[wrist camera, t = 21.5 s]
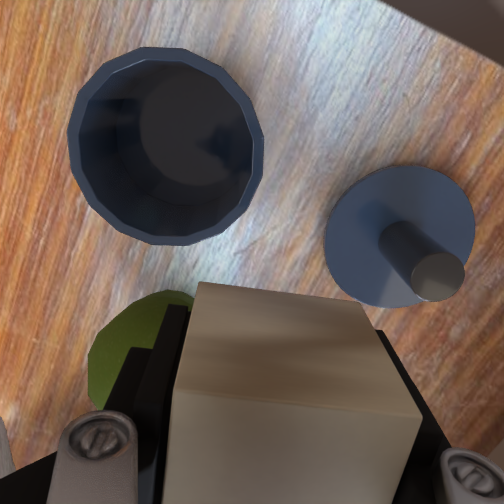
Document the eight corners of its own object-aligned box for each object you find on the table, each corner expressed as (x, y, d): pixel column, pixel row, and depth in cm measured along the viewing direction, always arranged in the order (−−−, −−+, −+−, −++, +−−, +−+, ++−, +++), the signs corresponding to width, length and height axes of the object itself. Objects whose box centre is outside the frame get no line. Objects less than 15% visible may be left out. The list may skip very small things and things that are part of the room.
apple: (249, 292, 34) (252, 387, 23) (201, 371, 36) (184, 490, 25) (148, 243, 32) (100, 320, 21) (105, 329, 34) (43, 437, 24)
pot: (226, 34, 27) (220, 13, 20) (278, 182, 30) (289, 209, 23) (83, 93, 28) (30, 93, 21) (149, 230, 32) (122, 269, 25)
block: (360, 301, 12) (424, 417, 7) (325, 427, 13) (363, 582, 9) (198, 280, 11) (173, 389, 7) (182, 412, 13) (154, 565, 9)
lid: (451, 140, 30) (519, 155, 22) (478, 274, 33) (543, 324, 26) (302, 195, 31) (321, 226, 24) (344, 319, 34) (371, 378, 27)
